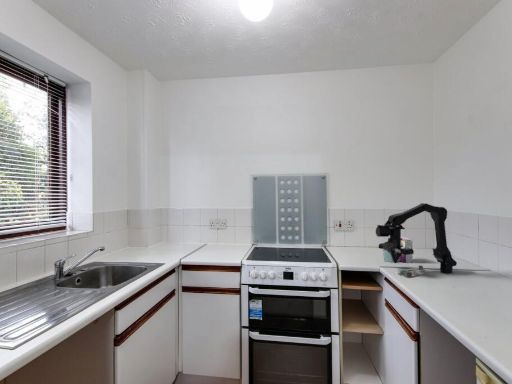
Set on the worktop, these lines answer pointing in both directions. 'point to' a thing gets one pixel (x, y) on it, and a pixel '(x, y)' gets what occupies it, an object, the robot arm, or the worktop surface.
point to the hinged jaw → (401, 272)
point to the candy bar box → (406, 244)
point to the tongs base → (414, 272)
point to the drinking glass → (387, 256)
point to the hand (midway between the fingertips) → (395, 263)
